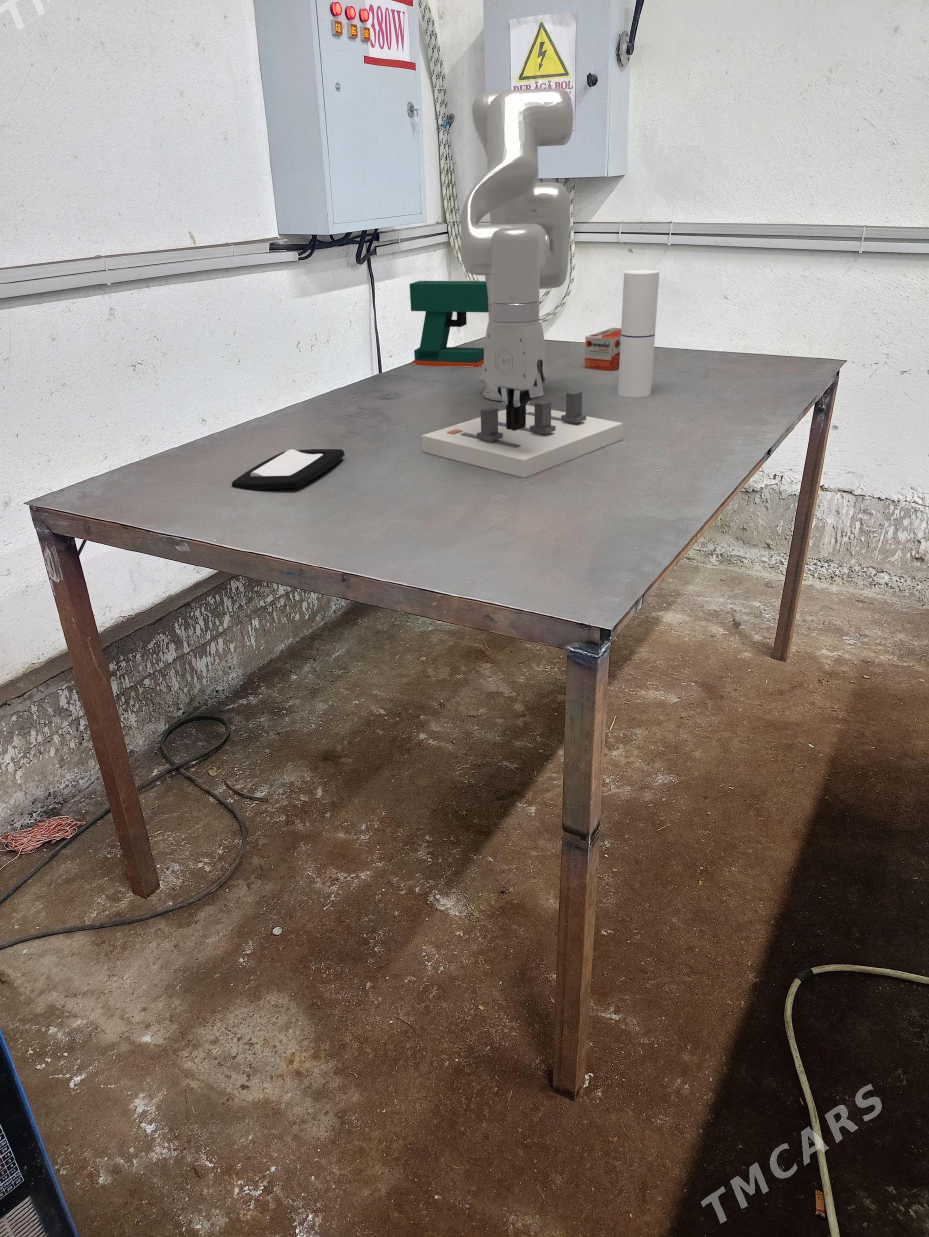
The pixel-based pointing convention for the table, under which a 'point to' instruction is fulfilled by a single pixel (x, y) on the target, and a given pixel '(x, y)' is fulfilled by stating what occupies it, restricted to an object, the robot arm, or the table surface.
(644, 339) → the cylindrical container
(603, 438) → the breaker panel
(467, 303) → the power tool
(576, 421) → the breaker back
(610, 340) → the medicine box
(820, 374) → the table surface
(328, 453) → the light switch
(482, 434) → the breaker
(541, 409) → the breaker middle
